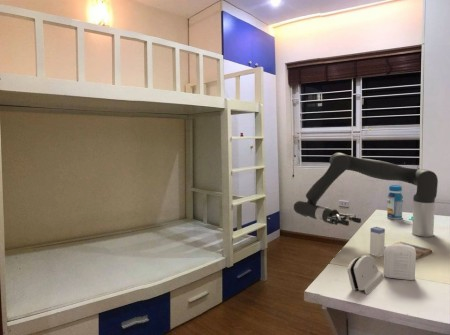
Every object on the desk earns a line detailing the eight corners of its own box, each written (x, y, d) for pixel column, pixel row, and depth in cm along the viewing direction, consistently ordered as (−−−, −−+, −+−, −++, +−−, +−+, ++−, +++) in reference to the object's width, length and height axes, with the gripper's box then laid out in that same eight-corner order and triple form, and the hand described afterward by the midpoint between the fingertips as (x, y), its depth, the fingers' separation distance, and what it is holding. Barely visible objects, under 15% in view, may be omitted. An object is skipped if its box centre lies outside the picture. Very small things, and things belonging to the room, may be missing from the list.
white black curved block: (367, 294, 105) (357, 264, 107) (353, 295, 109) (343, 265, 110) (384, 277, 117) (375, 250, 119) (371, 278, 121) (362, 252, 122)
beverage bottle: (401, 220, 194) (402, 187, 192) (386, 218, 198) (386, 186, 196) (402, 217, 201) (403, 185, 199) (387, 215, 205) (388, 184, 204)
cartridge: (375, 252, 143) (376, 226, 142) (384, 254, 140) (384, 228, 138) (369, 254, 141) (370, 228, 140) (378, 256, 138) (379, 230, 136)
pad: (400, 243, 153) (400, 241, 153) (432, 252, 141) (432, 249, 141) (382, 249, 146) (382, 247, 145) (414, 259, 134) (414, 256, 133)
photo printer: (413, 276, 118) (414, 243, 117) (416, 281, 114) (417, 247, 113) (382, 273, 121) (383, 241, 120) (384, 278, 117) (385, 245, 116)
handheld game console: (434, 217, 200) (434, 215, 200) (427, 223, 188) (427, 220, 188) (415, 215, 207) (415, 213, 207) (408, 220, 195) (408, 218, 195)
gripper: (316, 209, 158) (344, 216, 145) (336, 205, 166) (364, 212, 152) (316, 224, 159) (344, 232, 145) (336, 220, 166) (364, 227, 153)
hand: (354, 222), depth 149 cm, fingers open, 8 cm apart
